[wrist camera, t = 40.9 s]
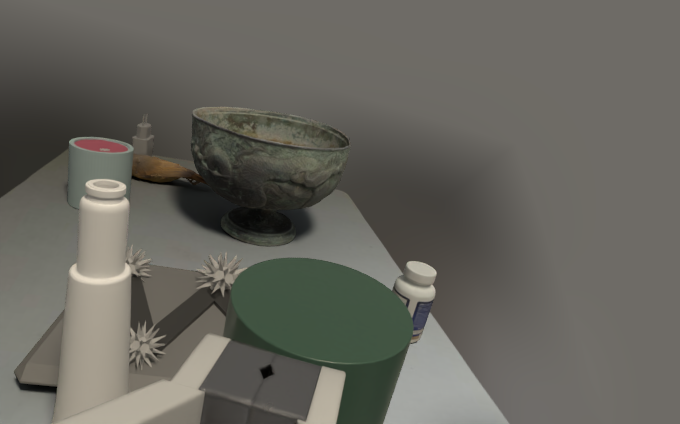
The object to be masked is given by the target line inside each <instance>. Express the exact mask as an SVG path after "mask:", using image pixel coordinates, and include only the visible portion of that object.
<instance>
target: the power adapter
mask: <svg viewBox="0 0 680 424" xmlns="http://www.w3.org/2000/svg"><path fill="white" fill-rule="evenodd" d="M144 117H145V115H143V123H141V124H139V125H138V126H137V135H135V136H133V138H132V147H133V148H134V151H133V153H135V154H138V155H147V156H151V157H152V153H153V142H154V136H153V135H150V133H151V125H150V124H148V123H147V113H146V120H145V123H144Z"/></svg>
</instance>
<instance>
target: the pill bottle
mask: <svg viewBox="0 0 680 424" xmlns="http://www.w3.org/2000/svg"><path fill="white" fill-rule="evenodd" d="M435 277H436V271H435V270H434V268H432V267H431V266H429V265H427V264H425V263H422V262H417V261H410V262H408V263H407V264H406V267H405V270H404V275H401V276H399V277H398V278H397V279H396V281H395V283H394V287H393V290H392V292H394V293H395V294H396V295H397V296H398V297H399V298H400V299H401V300H402V302H403V303H404V304H405V306H406V307H407V309H408V310H409V312H410V314H411V317H412V320H413V327H414V329H413V336H412V339H411V342H410V343H414V342H416V341H418V340H419V339H420V337H421V335H422V332H423V330H424V326H425V324H426V321H427V318H428V315H429V312H430V309H431V306H432V303H433V300H434V297H435V288H434V286H433V285H432V284H433V283H434V281H435Z"/></svg>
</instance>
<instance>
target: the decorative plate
mask: <svg viewBox="0 0 680 424" xmlns="http://www.w3.org/2000/svg"><path fill="white" fill-rule="evenodd" d="M141 249H142V248H141ZM141 249H140V250H138V251H137V252H136V253H135V254H134V255H133V256H132V246H131V248H130V251H129V246H128V250H126V259H125V263H127V264H128V265H129V266H130V268H131V321H130V350H129V393H130V392H132V391H135V390H137V389H140V388H142V387H145V386H147V385H150V384H152V383H155V382H157V381H160V380H162V379H164V380H168V381H171V379H172V378H173V377H174V375H175V374H176V373H177V371H178V370H179V369H180V367H181V366H182V365H183V363H184V362H185V361H186V360H187V358H188V357H189V356H190V354H191V353H192V352H193V350H194V349H195V348H196V346H197V345H198V344H199V342H200V341H201V340H202V339H203V337H204V336H205V335H207V334H209V333H213V334H216V335H219V336H223V332H224V326H225V320H226V314H227V309H228V303H229V297H230V291H231V287H232V284H233V282H234V281H235V279H236V278H237V277H238V276H239V275H238V274H240V273H242V272H243V271H244V270H245V269H247V268H249V267H247V268H243V269H239V270H237V268H238V267H239V266H238V264H239V263H240V261H241V260H242V259H243V258H242V259H241V260H240V261H238V262H237V263H236V264H235V265H234V263H235V261H236V260H237V259H235V258H236V256H237V255H236V256H235V258H234V259H233V260H232V261H231V262H230V263H229V264H228V265H227V251H226V255H225V258H224V262H223V261H222V254H220V257H219V256H218V264H217V262H216V261H215V260H214V259H213V257H212V256H211V255H210V257H211V259H210V258H209V260H210V262H211V264H210V263H207V262H206V261H205V260H204V262H205V263H206V265H207V266H208V267H206V266H204V265H202V266H203V267H204V268H205V269H206V270H207V271H206V270H201V269H197V270H199V271H201V272H199V271H190V270H183V269H176V268H170V267H163V266H156V265H149V264H148V263H150V262H152V261H149V260H151V259H148V260H143V261H141V260H142V259H143V257H144V256H145V255H144V256H142V255H143V254H144V253H145V251H144V252H143V253H142V254H141V255H140V256H138V255H139V253H140V251H141ZM208 257H209V256H208ZM147 261H148V262H147ZM233 265H234V266H233ZM237 266H238V267H237ZM64 312H65V309H64V311H63V312H62V313H61V314H60V315H59V317H58V318H57V319H56V320H55V322H54V323H53V324H52V325H51V326H50V328H49V329H48V330H47V331H46V333H45V334H44V335H43V336H42V337H41V339H40V340H39V341H38V342H37V344H36V345H35V346H34V347H33V348H32V350H31V351H30V352H29V353H28V355H27V356H26V357H25V358H24V359H23V361H22V362H21V363H20V364H19V366H18V367H17V368H16V369H15V370H14V374H15V375H16V377H17V379H18V380H19V382H20V383H24V384H34V385H45V386H55V387H57V385H58V376H59V366H60V355H61V344H62V333H63V322H64Z"/></svg>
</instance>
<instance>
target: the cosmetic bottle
mask: <svg viewBox="0 0 680 424" xmlns="http://www.w3.org/2000/svg"><path fill="white" fill-rule="evenodd" d="M85 191H86V193H87V194H86V195H84V196H83V197H82V198H81V200H80V203H79V224H78V247H77V263H75V264H74V265H73V266H72V267H71V268H70V270H69V276H68V284H67V293H66V302H65V312H64V322H63V333H62V344H61V355H60V366H59V376H58V385H57V393H56V401H55V408H54V414H53V420H52V423H55V422H57V421H60V420H62V419H65V418H67V417H70V416H72V415H75V414H77V413H80V412H82V411H85V410H87V409H90V408H92V407H95V406H97V405H100V404H102V403H105V402H107V401H110V400H112V399H115V398H117V397H120V396H122V395H125V394H127V393H129V350H130V321H131V268H130V266H129V265H128V264H127V263H125V259H126V247H127V234H128V222H129V209H130V204H129V201H128V199H127V198H125V197H124V195H125V194H126V185H125V184H123V183H122V182H119V181H115V180H110V179H94V180H90V181H88V182H86V184H85Z"/></svg>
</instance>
